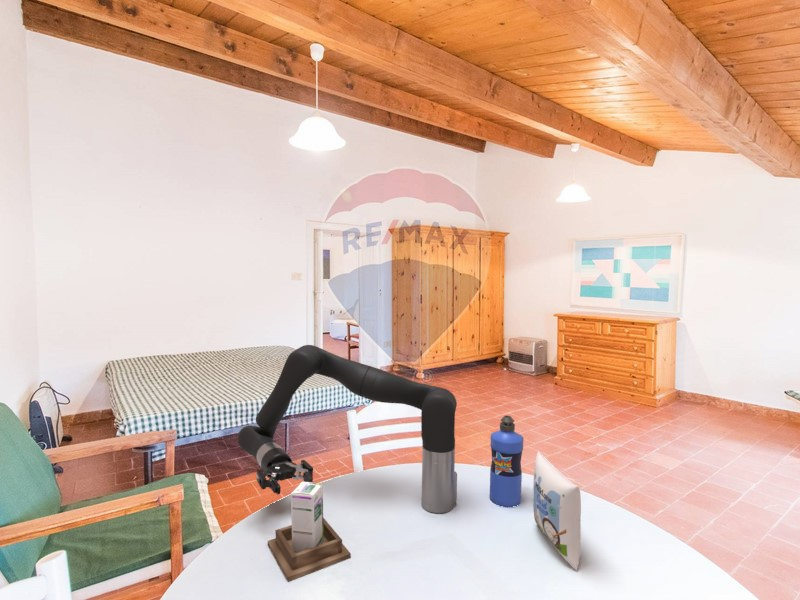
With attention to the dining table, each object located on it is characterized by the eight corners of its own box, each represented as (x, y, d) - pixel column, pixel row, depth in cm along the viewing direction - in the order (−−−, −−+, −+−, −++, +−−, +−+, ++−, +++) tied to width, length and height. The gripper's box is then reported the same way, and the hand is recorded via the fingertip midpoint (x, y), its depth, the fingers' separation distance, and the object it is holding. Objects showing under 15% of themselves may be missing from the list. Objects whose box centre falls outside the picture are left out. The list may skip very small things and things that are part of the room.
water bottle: (515, 511, 124) (518, 424, 122) (484, 501, 128) (486, 417, 127) (525, 497, 131) (528, 415, 130) (495, 488, 136) (497, 409, 135)
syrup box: (314, 555, 102) (314, 495, 101) (290, 551, 103) (290, 491, 102) (323, 540, 107) (323, 483, 106) (301, 537, 109) (301, 480, 108)
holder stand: (324, 525, 115) (324, 511, 115) (350, 557, 103) (350, 541, 103) (267, 544, 107) (267, 528, 107) (288, 581, 95) (287, 563, 94)
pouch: (553, 522, 118) (555, 450, 117) (589, 571, 99) (593, 485, 98) (524, 524, 117) (526, 451, 116) (555, 573, 98) (559, 486, 97)
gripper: (249, 452, 122) (268, 479, 109) (297, 442, 130) (321, 466, 117) (247, 478, 123) (267, 508, 109) (296, 466, 131) (320, 493, 118)
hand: (295, 486), depth 113 cm, fingers open, 8 cm apart
